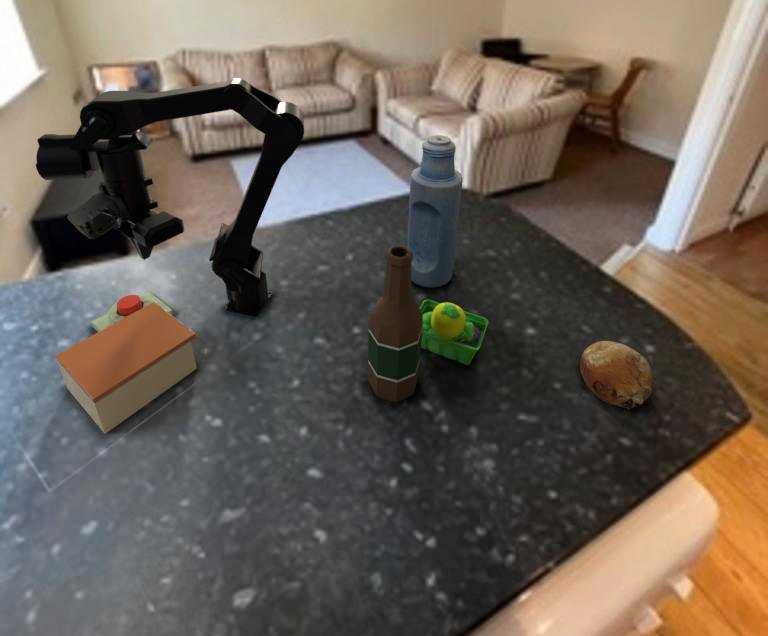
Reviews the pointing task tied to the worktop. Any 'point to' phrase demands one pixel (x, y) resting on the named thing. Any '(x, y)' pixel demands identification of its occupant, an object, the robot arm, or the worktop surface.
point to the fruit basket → (451, 331)
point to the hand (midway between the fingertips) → (145, 257)
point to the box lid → (124, 350)
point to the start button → (129, 305)
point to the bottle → (434, 213)
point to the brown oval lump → (616, 374)
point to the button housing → (115, 316)
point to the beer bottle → (395, 332)
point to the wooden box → (135, 389)
